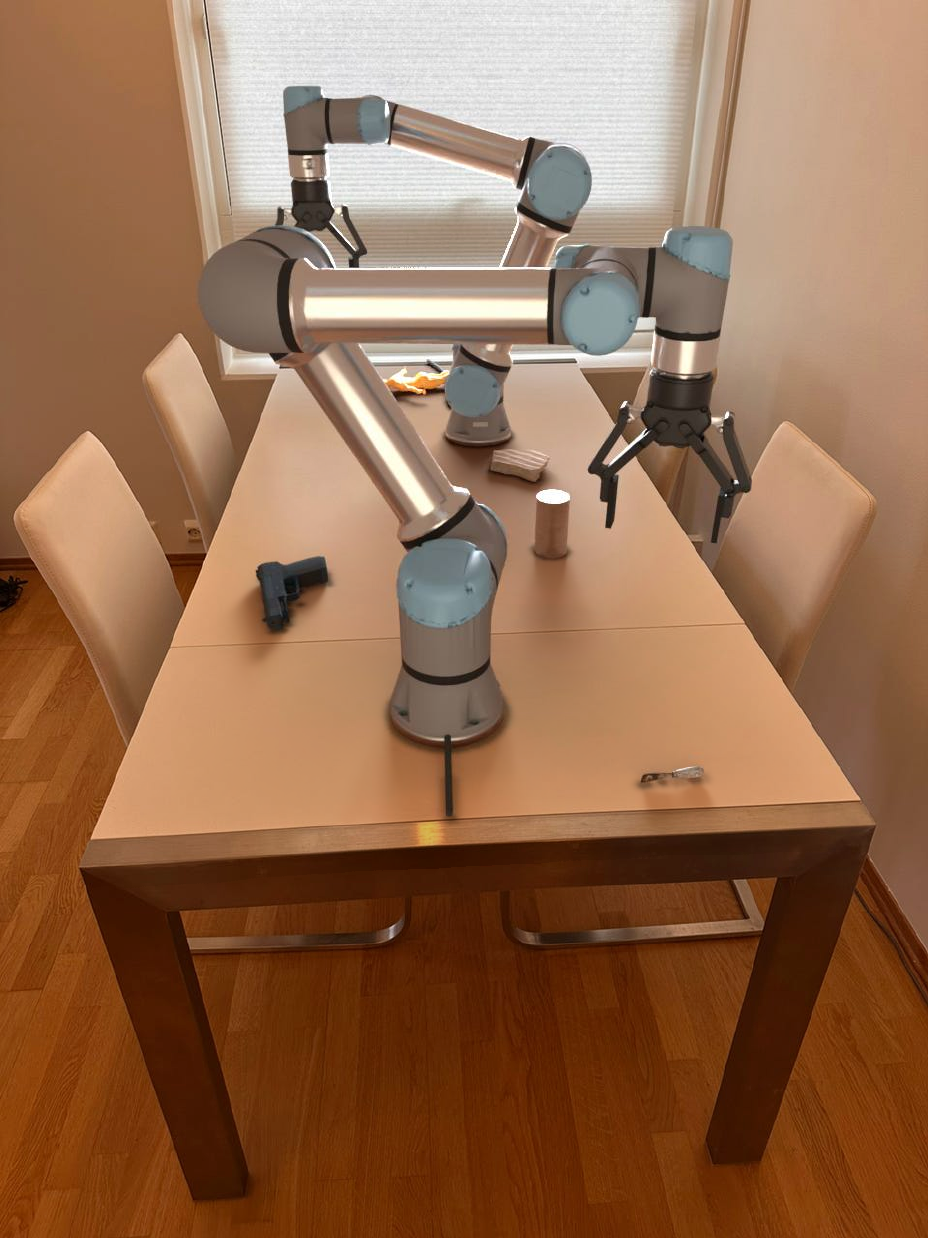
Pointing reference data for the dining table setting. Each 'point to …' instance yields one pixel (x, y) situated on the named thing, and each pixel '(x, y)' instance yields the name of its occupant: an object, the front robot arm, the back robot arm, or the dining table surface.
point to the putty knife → (674, 774)
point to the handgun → (287, 585)
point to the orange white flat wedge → (416, 381)
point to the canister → (551, 523)
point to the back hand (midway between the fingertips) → (320, 293)
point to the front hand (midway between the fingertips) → (661, 531)
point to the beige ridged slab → (519, 462)
